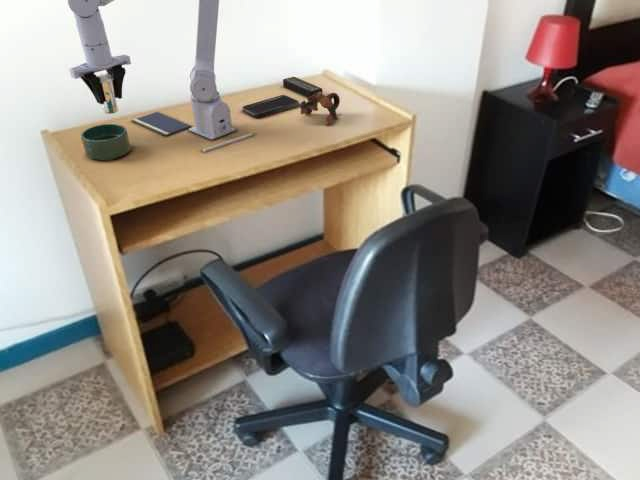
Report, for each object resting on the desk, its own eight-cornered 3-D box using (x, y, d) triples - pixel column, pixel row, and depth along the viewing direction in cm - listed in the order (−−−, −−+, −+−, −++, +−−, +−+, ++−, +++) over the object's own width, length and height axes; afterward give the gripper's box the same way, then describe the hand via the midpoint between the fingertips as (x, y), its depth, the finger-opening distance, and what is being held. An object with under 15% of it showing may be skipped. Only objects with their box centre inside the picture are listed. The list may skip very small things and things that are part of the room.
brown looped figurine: (324, 131, 153) (307, 103, 150) (305, 136, 161) (289, 109, 157) (353, 108, 158) (338, 80, 155) (334, 113, 166) (319, 87, 163)
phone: (240, 106, 162) (283, 94, 170) (241, 110, 163) (283, 98, 171) (257, 114, 157) (300, 101, 166) (257, 118, 158) (300, 105, 166)
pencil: (254, 134, 150) (204, 151, 141) (254, 136, 150) (204, 153, 142) (252, 131, 150) (202, 148, 141) (252, 133, 150) (202, 150, 142)
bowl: (140, 151, 141) (135, 131, 138) (101, 165, 135) (95, 145, 132) (116, 140, 147) (111, 120, 143) (78, 153, 140) (72, 133, 137)
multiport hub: (294, 83, 182) (293, 76, 180) (323, 96, 173) (322, 88, 172) (282, 86, 179) (282, 79, 178) (311, 99, 171) (311, 91, 169)
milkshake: (117, 115, 141) (108, 74, 136) (97, 113, 142) (87, 72, 136) (127, 109, 145) (118, 69, 139) (108, 107, 146) (98, 67, 140)
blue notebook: (191, 127, 154) (190, 125, 153) (165, 136, 149) (165, 134, 148) (157, 113, 161) (157, 111, 161) (132, 121, 156) (131, 119, 156)
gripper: (113, 33, 140) (126, 88, 148) (56, 46, 131) (73, 104, 139) (130, 38, 137) (142, 95, 145) (72, 52, 128) (89, 111, 136)
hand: (110, 100), depth 142 cm, fingers closed on milkshake, 4 cm apart
